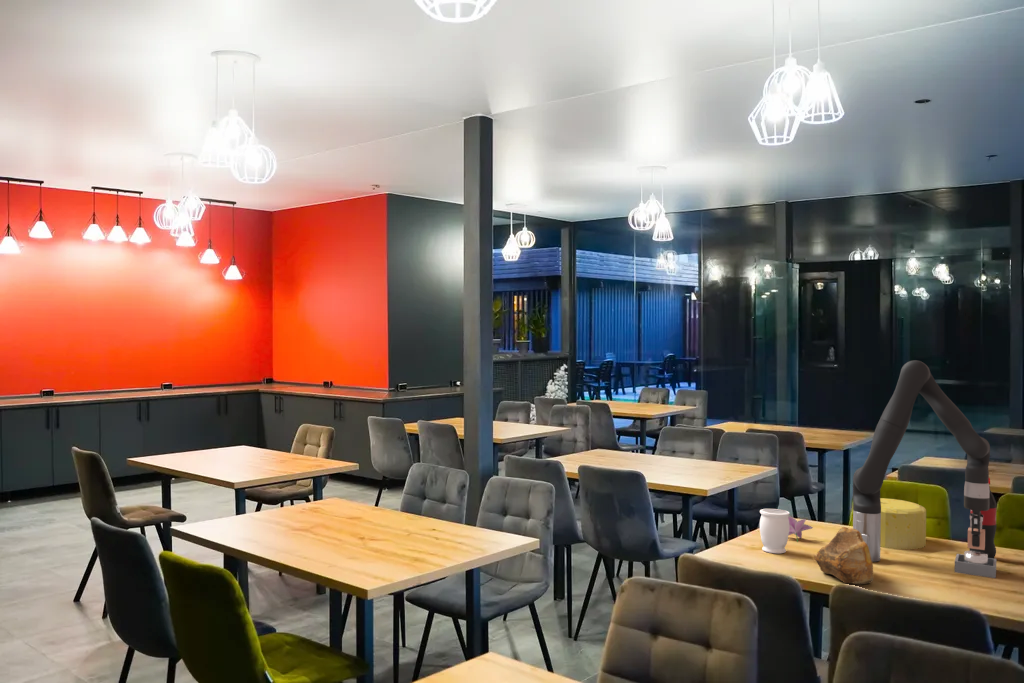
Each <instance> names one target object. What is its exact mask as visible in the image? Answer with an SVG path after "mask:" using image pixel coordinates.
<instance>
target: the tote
mask: <svg viewBox="0 0 1024 683" xmlns="http://www.w3.org/2000/svg"><path fill="white" fill-rule="evenodd" d="M954 573H957V574H965V575H971V576H976V577H977V576H978V577H983V578H990V579H997V558H994V559H993V558H988V565H981V564H974V563H967V562H964V553H962V554H961V553H956V555H955V559H954Z"/></svg>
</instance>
